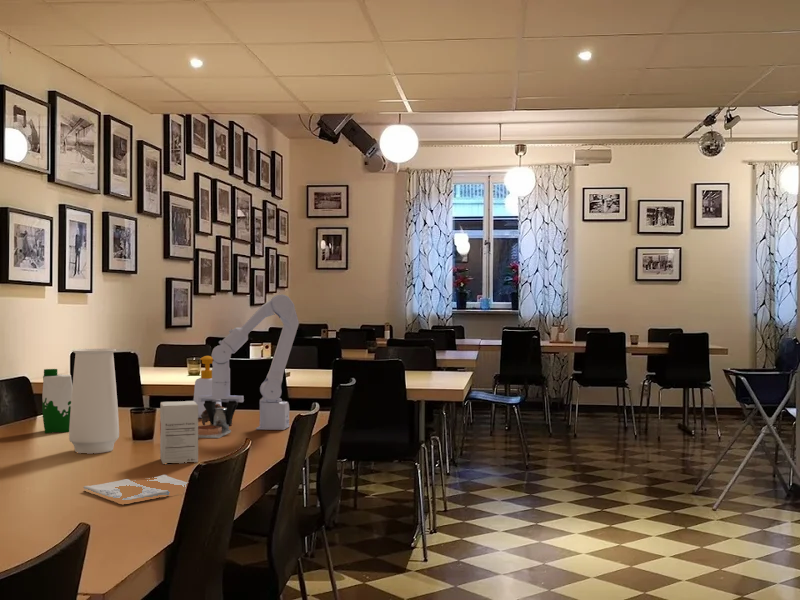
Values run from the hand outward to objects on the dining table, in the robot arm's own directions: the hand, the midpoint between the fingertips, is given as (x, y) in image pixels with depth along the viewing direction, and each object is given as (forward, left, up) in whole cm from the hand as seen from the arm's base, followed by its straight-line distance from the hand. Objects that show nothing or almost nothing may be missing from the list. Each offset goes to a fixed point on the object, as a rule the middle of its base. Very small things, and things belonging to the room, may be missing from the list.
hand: (221, 424), depth 260 cm
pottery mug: (+5, -11, -2) cm, 13 cm away
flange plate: (+2, +10, -2) cm, 10 cm away
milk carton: (+52, +7, -2) cm, 52 cm away
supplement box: (-6, +52, -2) cm, 52 cm away
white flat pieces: (-12, +86, -3) cm, 86 cm away
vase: (+23, +40, -2) cm, 46 cm away
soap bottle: (+16, -33, -2) cm, 37 cm away
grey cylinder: (0, 0, -2) cm, 2 cm away
